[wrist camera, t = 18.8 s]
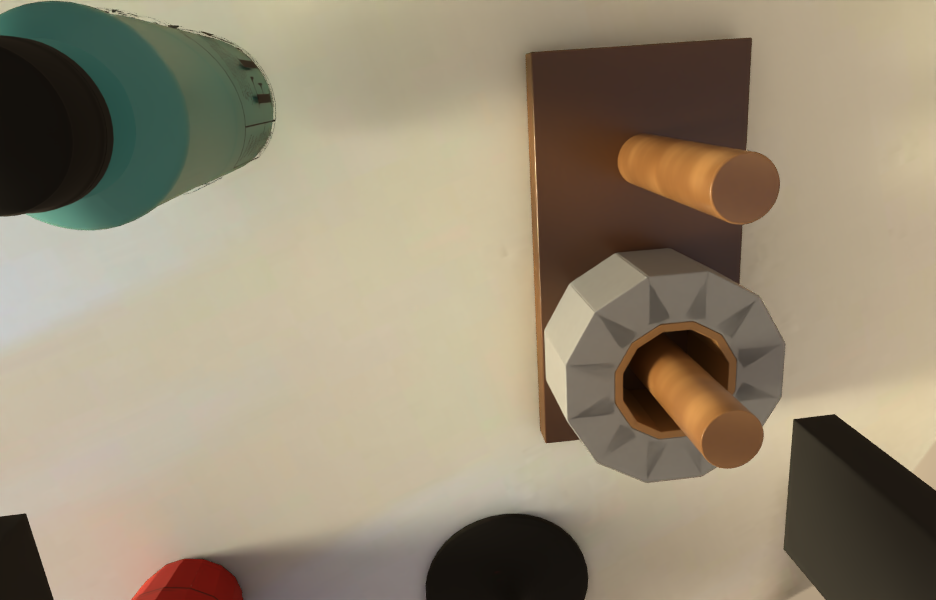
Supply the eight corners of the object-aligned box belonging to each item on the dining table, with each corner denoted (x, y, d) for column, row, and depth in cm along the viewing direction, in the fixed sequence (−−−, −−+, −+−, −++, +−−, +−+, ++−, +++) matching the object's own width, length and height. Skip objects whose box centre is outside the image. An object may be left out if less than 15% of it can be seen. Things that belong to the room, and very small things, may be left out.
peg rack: (524, 54, 35) (591, 34, 23) (737, 39, 35) (910, 13, 23) (540, 430, 41) (598, 572, 29) (720, 411, 42) (851, 541, 30)
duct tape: (547, 443, 39) (568, 492, 35) (541, 259, 36) (562, 284, 31) (731, 423, 40) (776, 468, 35) (740, 241, 37) (791, 263, 32)
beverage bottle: (311, 106, 34) (201, 126, 15) (222, 201, 35) (15, 332, 16) (205, 4, 33) (-66, -116, 14) (115, 107, 34) (-258, 130, 14)
